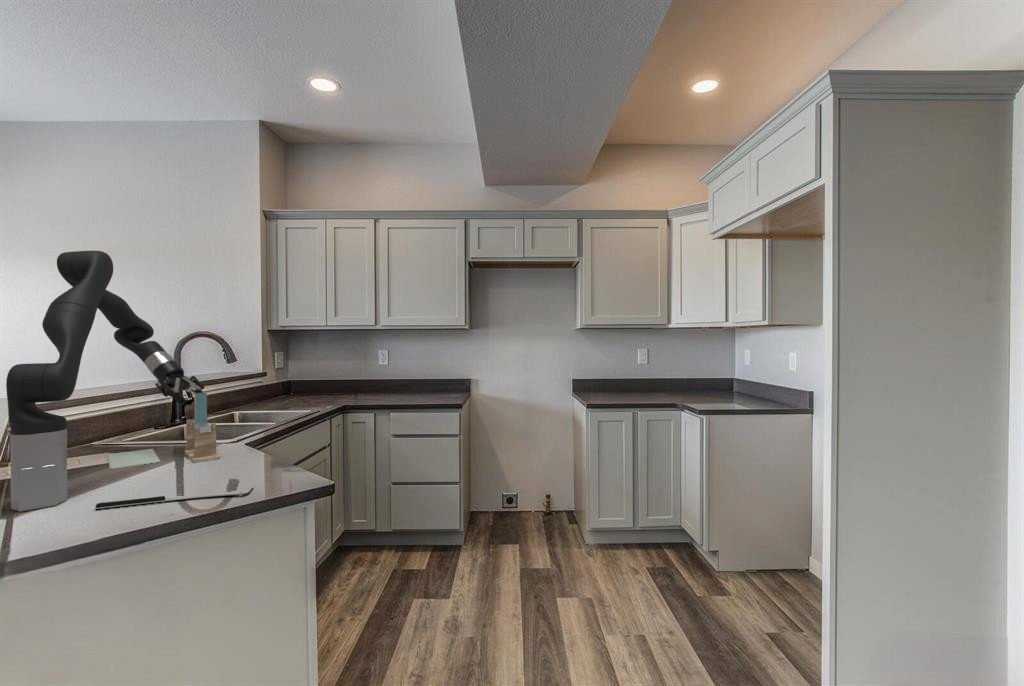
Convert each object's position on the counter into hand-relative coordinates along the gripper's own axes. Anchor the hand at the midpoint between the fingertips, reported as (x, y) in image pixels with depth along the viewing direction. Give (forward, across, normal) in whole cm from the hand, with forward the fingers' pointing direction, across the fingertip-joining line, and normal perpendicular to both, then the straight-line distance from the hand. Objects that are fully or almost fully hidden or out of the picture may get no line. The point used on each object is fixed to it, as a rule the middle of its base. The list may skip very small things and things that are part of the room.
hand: (194, 401), depth 153 cm
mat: (+1, -6, +25) cm, 26 cm away
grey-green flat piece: (+8, 0, +5) cm, 9 cm away
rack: (+15, 0, +11) cm, 19 cm away
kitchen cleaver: (+36, -38, -9) cm, 53 cm away
